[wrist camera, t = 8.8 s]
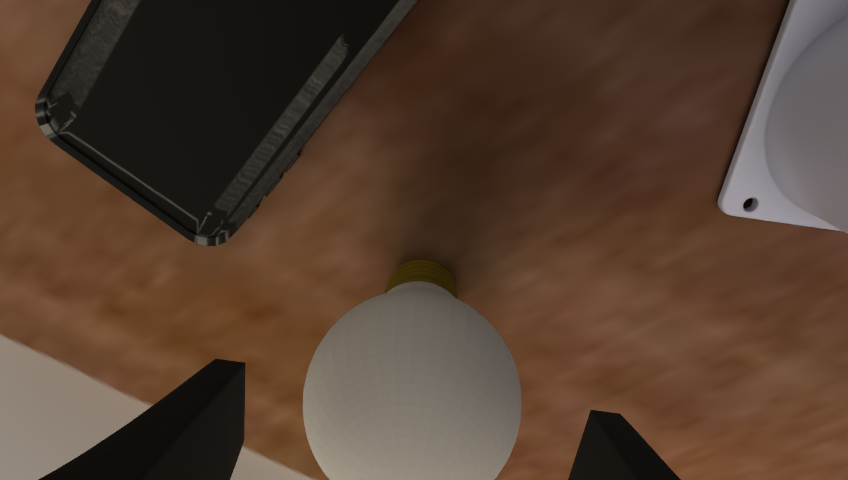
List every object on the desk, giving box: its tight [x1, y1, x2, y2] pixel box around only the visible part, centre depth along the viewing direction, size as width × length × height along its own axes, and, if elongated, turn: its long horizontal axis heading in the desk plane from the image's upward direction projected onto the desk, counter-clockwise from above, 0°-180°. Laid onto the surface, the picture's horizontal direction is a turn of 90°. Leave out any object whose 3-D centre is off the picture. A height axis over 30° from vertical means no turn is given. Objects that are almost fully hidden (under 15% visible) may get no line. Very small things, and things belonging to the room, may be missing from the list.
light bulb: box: [303, 260, 522, 480], centre depth 17 cm, size 6×6×10 cm
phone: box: [35, 0, 418, 246], centre depth 18 cm, size 8×1×15 cm
